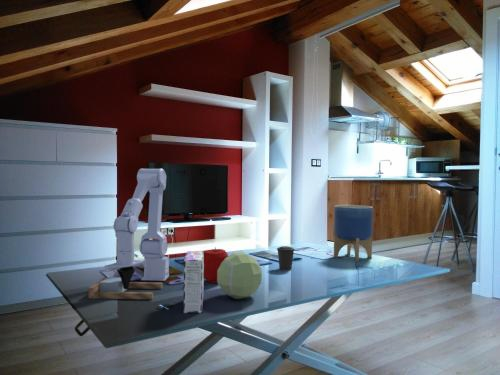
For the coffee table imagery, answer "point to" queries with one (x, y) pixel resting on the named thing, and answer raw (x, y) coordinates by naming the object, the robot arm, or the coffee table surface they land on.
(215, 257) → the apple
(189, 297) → the candy box
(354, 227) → the planter
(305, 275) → the coffee table surface
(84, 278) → the coffee table surface
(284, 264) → the coffee cup
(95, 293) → the track
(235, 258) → the decorative sphere
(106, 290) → the keeper
